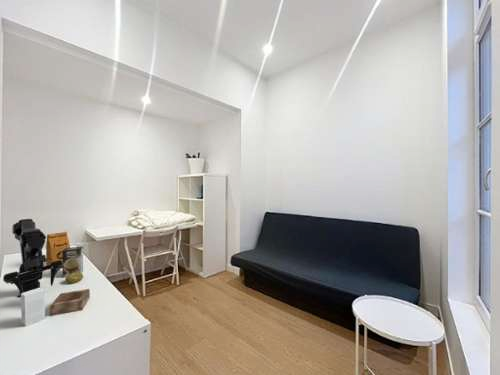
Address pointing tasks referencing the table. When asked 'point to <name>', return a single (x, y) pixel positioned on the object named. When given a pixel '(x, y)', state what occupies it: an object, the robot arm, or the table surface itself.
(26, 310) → the skincare box
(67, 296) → the walnut socket block
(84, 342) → the table surface
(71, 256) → the coffee box
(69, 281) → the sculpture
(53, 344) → the table surface
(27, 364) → the table surface
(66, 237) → the coffee package
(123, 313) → the table surface
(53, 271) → the robot arm
